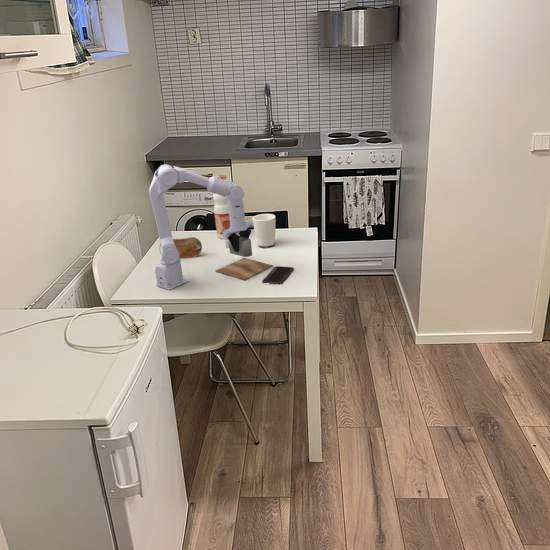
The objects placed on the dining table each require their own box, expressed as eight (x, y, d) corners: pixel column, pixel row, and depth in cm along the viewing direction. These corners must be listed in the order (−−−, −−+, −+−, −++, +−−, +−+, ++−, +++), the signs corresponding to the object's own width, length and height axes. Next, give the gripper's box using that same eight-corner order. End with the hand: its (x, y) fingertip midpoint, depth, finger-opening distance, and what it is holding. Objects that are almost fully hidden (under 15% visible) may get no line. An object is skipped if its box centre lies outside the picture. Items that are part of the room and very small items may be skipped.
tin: (167, 259, 238) (164, 240, 235) (168, 257, 241) (165, 238, 238) (202, 256, 238) (200, 237, 235) (203, 254, 241) (201, 235, 238)
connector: (247, 257, 214) (245, 242, 211) (225, 252, 221) (223, 237, 219) (254, 254, 216) (252, 239, 214) (232, 248, 224) (230, 234, 222)
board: (244, 280, 211) (244, 279, 211) (215, 272, 221) (215, 270, 221) (273, 266, 222) (273, 265, 222) (244, 259, 232) (243, 257, 232)
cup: (261, 240, 252) (259, 213, 247) (281, 242, 247) (279, 214, 242) (250, 248, 244) (248, 219, 239) (271, 250, 239) (268, 221, 234)
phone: (261, 281, 208) (275, 266, 220) (261, 284, 208) (275, 268, 221) (281, 283, 205) (294, 267, 218) (281, 285, 205) (295, 270, 218)
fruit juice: (227, 231, 267) (220, 173, 256) (241, 234, 261) (235, 174, 250) (213, 237, 260) (205, 177, 249) (227, 241, 254) (220, 179, 244)
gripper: (230, 222, 205) (234, 257, 210) (257, 211, 215) (260, 245, 220) (217, 219, 209) (221, 254, 215) (244, 209, 219) (247, 242, 224)
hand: (240, 249), depth 218 cm, fingers closed on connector, 4 cm apart
